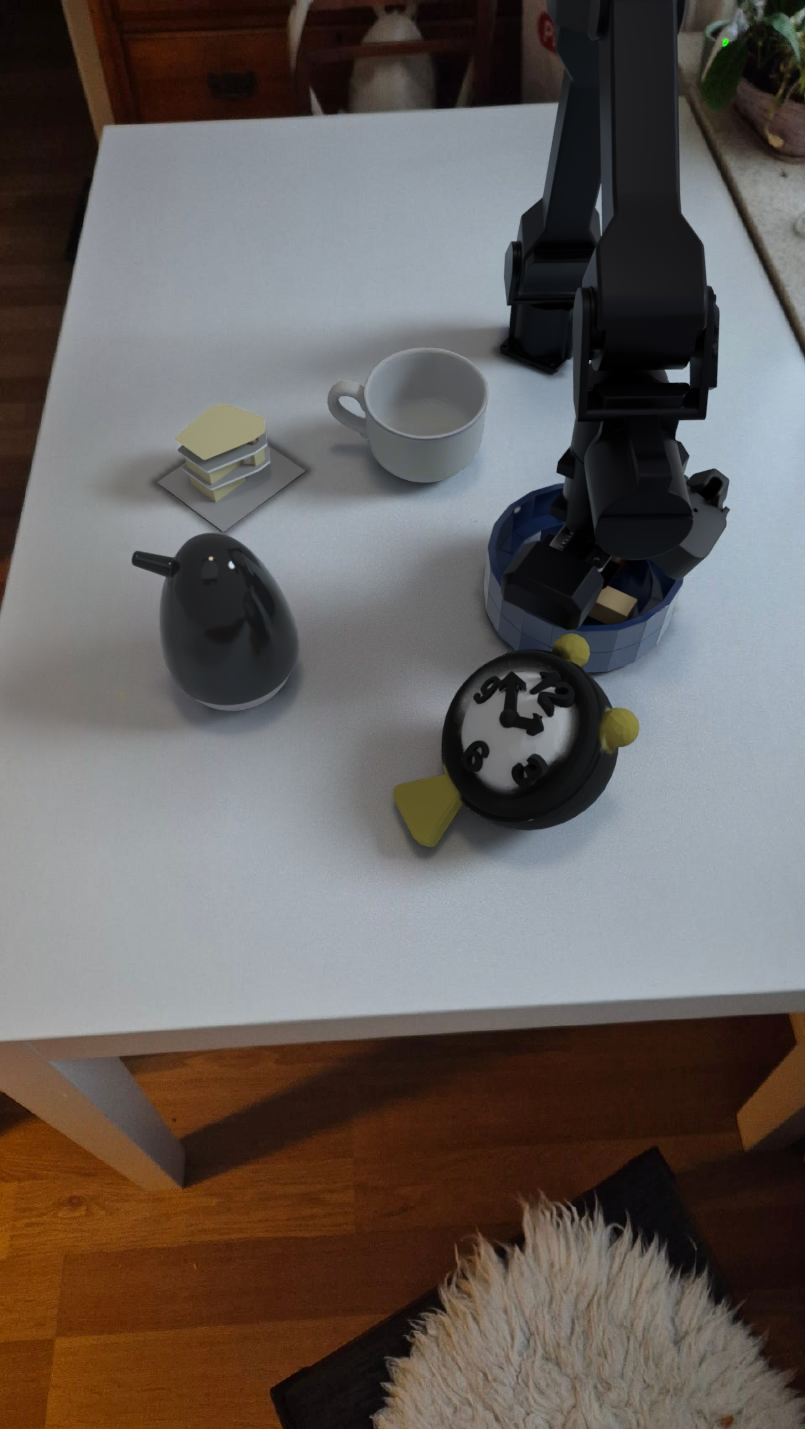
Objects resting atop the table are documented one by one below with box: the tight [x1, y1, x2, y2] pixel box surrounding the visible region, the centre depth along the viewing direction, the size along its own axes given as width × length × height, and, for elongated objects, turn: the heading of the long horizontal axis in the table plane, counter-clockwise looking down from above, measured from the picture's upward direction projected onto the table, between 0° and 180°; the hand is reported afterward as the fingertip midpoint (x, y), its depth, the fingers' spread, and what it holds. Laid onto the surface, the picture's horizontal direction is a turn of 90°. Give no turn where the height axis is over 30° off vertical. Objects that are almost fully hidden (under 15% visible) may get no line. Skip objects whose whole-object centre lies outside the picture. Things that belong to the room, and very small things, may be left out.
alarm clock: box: [392, 633, 640, 848], centre depth 70 cm, size 12×15×15 cm
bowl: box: [483, 482, 685, 673], centre depth 81 cm, size 15×15×6 cm
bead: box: [611, 556, 629, 579], centre depth 83 cm, size 3×3×3 cm
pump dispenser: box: [130, 532, 300, 712], centre depth 73 cm, size 10×10×15 cm
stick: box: [588, 586, 637, 625], centre depth 80 cm, size 8×2×2 cm, turn 57°
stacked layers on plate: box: [157, 403, 306, 533], centre depth 89 cm, size 10×9×6 cm
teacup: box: [326, 346, 489, 483], centre depth 89 cm, size 14×11×8 cm
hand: (582, 594), depth 80 cm, fingers closed on stick, 2 cm apart
